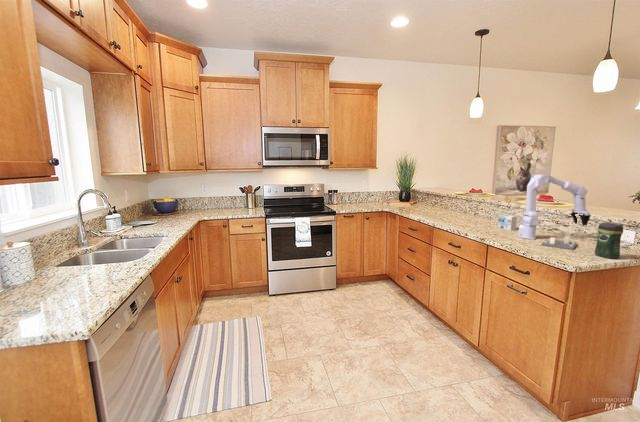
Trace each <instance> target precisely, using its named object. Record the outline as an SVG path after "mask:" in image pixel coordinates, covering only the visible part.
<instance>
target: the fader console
mask: <svg viewBox="0 0 640 422" xmlns="http://www.w3.org/2000/svg"><path fill="white" fill-rule="evenodd" d="M577 245H578V243H577V242H575V241H574V242H573V241H570V242H569V244H568V243H564V240H559V239H556V240H555V244H550V238H547V239H545V240H544V241H543V242H542V243H541V246H544V247H550V248H555V249H556V248H557V249H562V250H568V251H569V250H570V251H574V249H575V248H576V246H577Z"/></svg>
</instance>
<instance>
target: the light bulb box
mask: <svg viewBox="0 0 640 422" xmlns="http://www.w3.org/2000/svg"><path fill="white" fill-rule="evenodd" d="M517 221H518V216H515V215H509V214H499V215H498V225H497V229H501V228H502V230H505V229H507V230H506V231H510V230H511V231H515V229H516V230H517V224H518V223H517Z"/></svg>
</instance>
